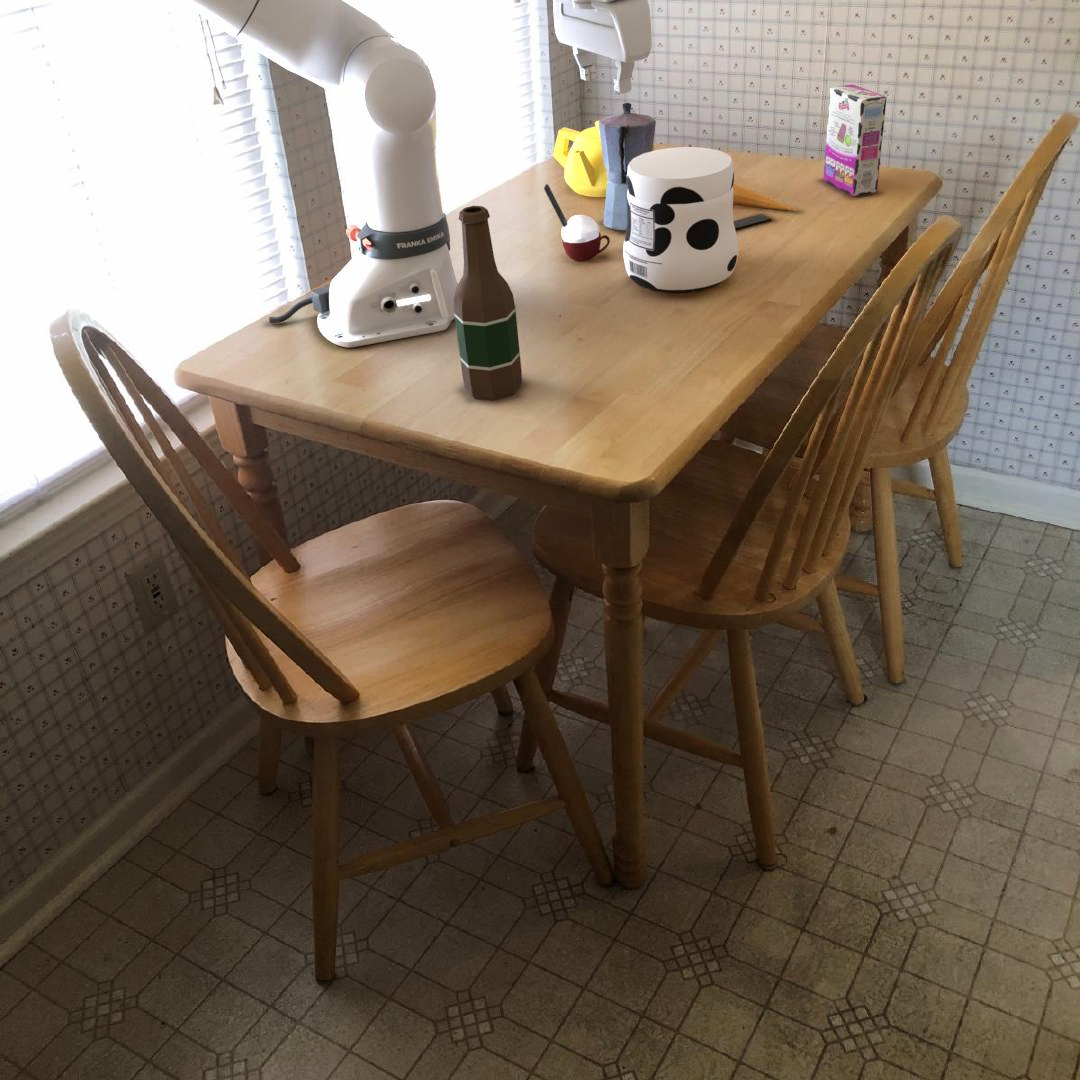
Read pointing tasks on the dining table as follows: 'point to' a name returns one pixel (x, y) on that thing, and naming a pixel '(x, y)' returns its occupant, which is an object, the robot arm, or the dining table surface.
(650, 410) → the dining table surface
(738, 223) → the ruler
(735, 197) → the carrot
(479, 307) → the beer bottle
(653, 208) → the milk container
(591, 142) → the teapot
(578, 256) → the cocoa
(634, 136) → the moka pot
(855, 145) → the candy bar box
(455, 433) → the dining table surface
